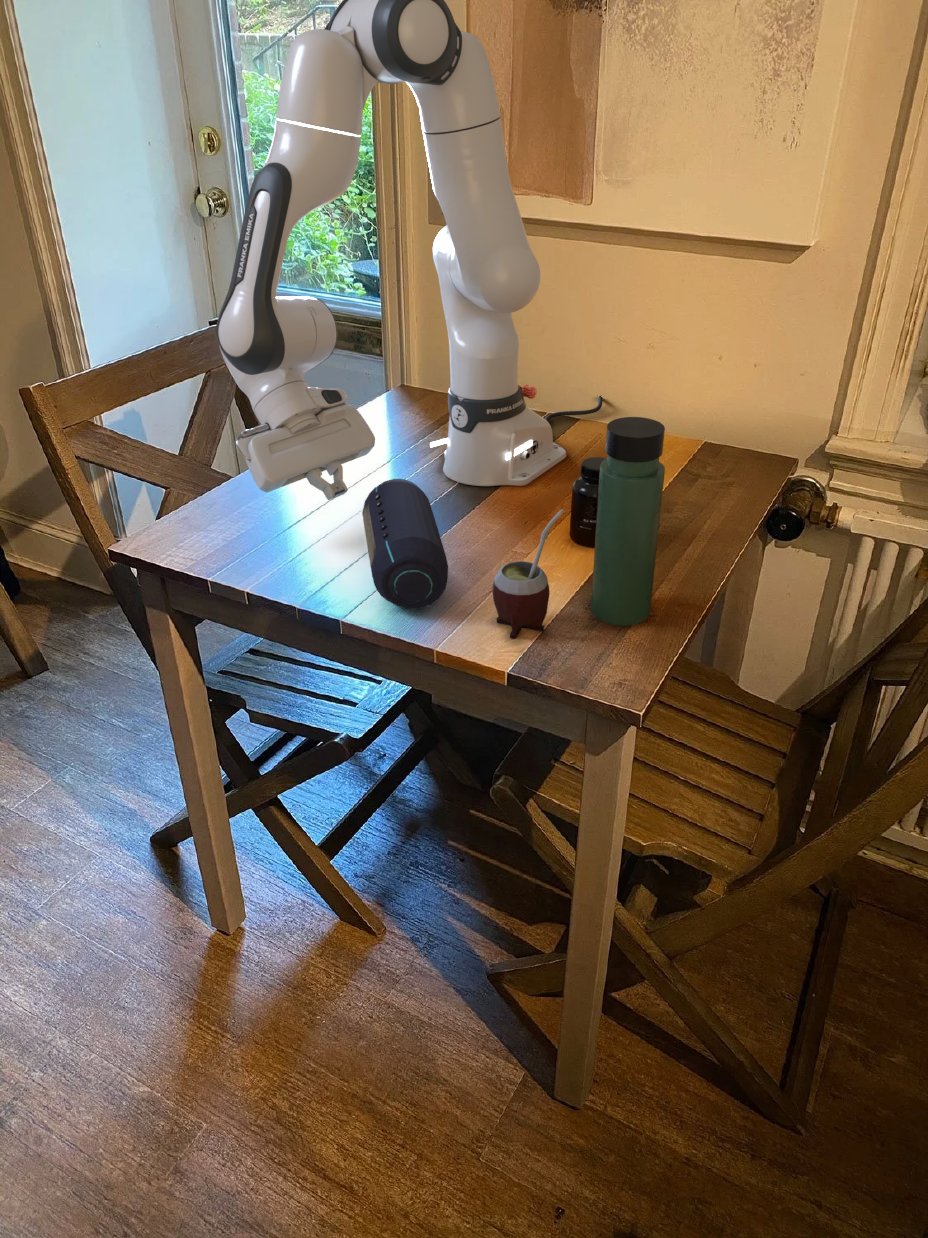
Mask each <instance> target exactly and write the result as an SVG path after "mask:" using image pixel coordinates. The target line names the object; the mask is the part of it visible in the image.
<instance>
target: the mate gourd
mask: <svg viewBox="0 0 928 1238" xmlns="http://www.w3.org/2000/svg"><path fill="white" fill-rule="evenodd" d="M564 512H565V511H564V509H563V508H562V509H560V510H559V511H558V512H556V514H555V515H554V516H553V517H552V519H550V521H549V522H548V523H547V524H546V526H545V528H544V529H543V530H542V532H541V534H540V540H539V544H538V547H537V551H536V552H535V556H534V560H533V562H532V561H525V560H519V561H517V560H516V561H512V562H508V563H506V564H505V565H502V567H500V568H499V570H498V572H496V574H495V576H494V578H493V583H492V588H491V589H492V590H491V591H492V600H493V603H494V607H495V610H496V613H497V617H496V619H495V620H496V624H501V625H505V626H510V627H511V632H510V633H509V638H510V639H513V640H515V639H517V638H518V637H519V634H520V633H521V631H522V630H523V629H526V630H529V631H530V630H531V631H536V632H544V630H545V624H544V621H545V618H546V616H547V613H548V607H549V601H550V600H549V599H550V586H549V580H548V575H547V574H546V573H545V571H544V570H543V569H542V568H541V567H540V566H539V561H540V558H541V555H542V552H543V549H544V546H545V543H546V540H547V539H548V537H549V535H550V530H551V529H552V527H553V526H554V524H555V523H556V522H557V520H558V519H559V518H560V517H561V516H562V514H563V513H564Z"/></svg>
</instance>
